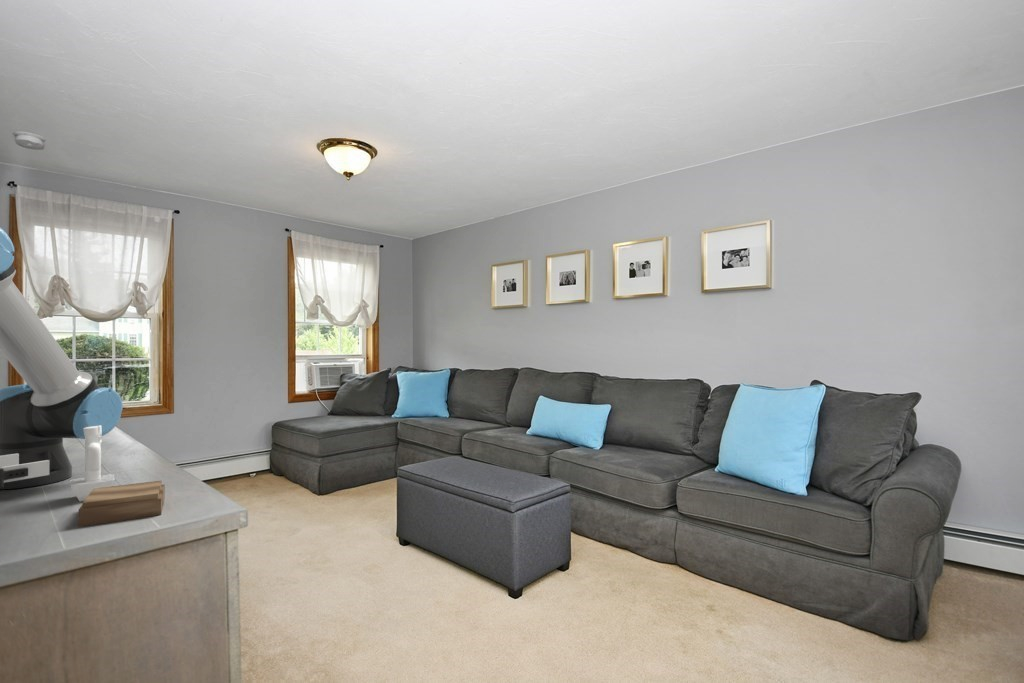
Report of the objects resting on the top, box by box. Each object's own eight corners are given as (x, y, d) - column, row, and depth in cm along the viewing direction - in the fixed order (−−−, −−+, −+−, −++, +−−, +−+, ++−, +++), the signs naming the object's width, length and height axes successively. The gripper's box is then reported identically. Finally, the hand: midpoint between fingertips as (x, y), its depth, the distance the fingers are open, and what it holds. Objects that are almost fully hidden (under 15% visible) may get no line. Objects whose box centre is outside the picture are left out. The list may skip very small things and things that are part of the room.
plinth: (90, 508, 100) (90, 488, 100) (164, 498, 107) (164, 479, 107) (78, 526, 90) (78, 504, 90) (161, 514, 96) (161, 493, 96)
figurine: (70, 505, 102) (70, 430, 102) (70, 495, 109) (70, 425, 110) (116, 498, 107) (116, 426, 107) (112, 489, 114) (112, 422, 114)
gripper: (-162, 503, 87) (6, 475, 106) (-119, 527, 75) (62, 491, 94) (-162, 459, 87) (6, 439, 106) (-118, 476, 75) (62, 450, 94)
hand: (33, 463), depth 100 cm, fingers open, 13 cm apart
